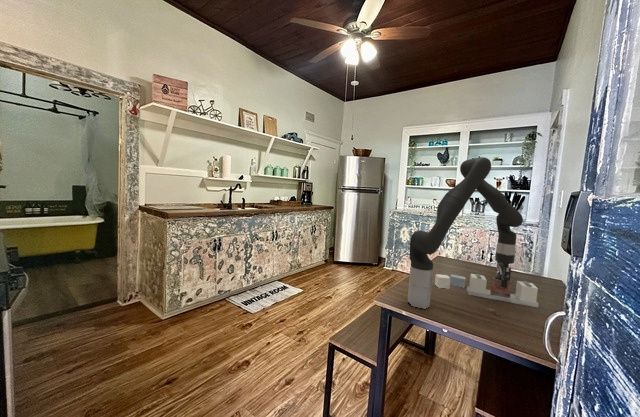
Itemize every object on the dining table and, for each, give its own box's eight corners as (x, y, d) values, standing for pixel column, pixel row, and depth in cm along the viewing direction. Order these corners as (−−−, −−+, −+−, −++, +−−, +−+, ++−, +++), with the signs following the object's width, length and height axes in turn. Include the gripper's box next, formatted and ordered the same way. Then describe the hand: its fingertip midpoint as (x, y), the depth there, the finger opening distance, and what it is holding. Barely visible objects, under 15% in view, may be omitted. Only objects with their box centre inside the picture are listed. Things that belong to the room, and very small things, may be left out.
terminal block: (464, 288, 136) (465, 279, 135) (449, 285, 139) (450, 276, 139) (464, 286, 139) (465, 277, 138) (450, 282, 143) (451, 274, 142)
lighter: (491, 293, 125) (493, 273, 124) (489, 291, 128) (492, 272, 127) (510, 297, 121) (513, 277, 120) (509, 294, 124) (511, 275, 123)
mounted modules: (535, 303, 116) (538, 287, 116) (471, 291, 126) (472, 276, 126) (530, 297, 123) (532, 282, 122) (469, 286, 133) (470, 272, 132)
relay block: (449, 289, 133) (450, 278, 132) (437, 288, 134) (438, 277, 133) (446, 285, 138) (447, 275, 137) (434, 284, 139) (435, 274, 138)
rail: (538, 307, 116) (538, 303, 116) (468, 294, 127) (469, 290, 127) (532, 301, 123) (532, 297, 122) (466, 289, 133) (467, 286, 133)
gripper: (492, 248, 131) (489, 278, 132) (500, 254, 118) (496, 288, 119) (510, 250, 128) (506, 281, 129) (519, 257, 115) (515, 291, 116)
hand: (501, 284), depth 124 cm, fingers open, 8 cm apart
